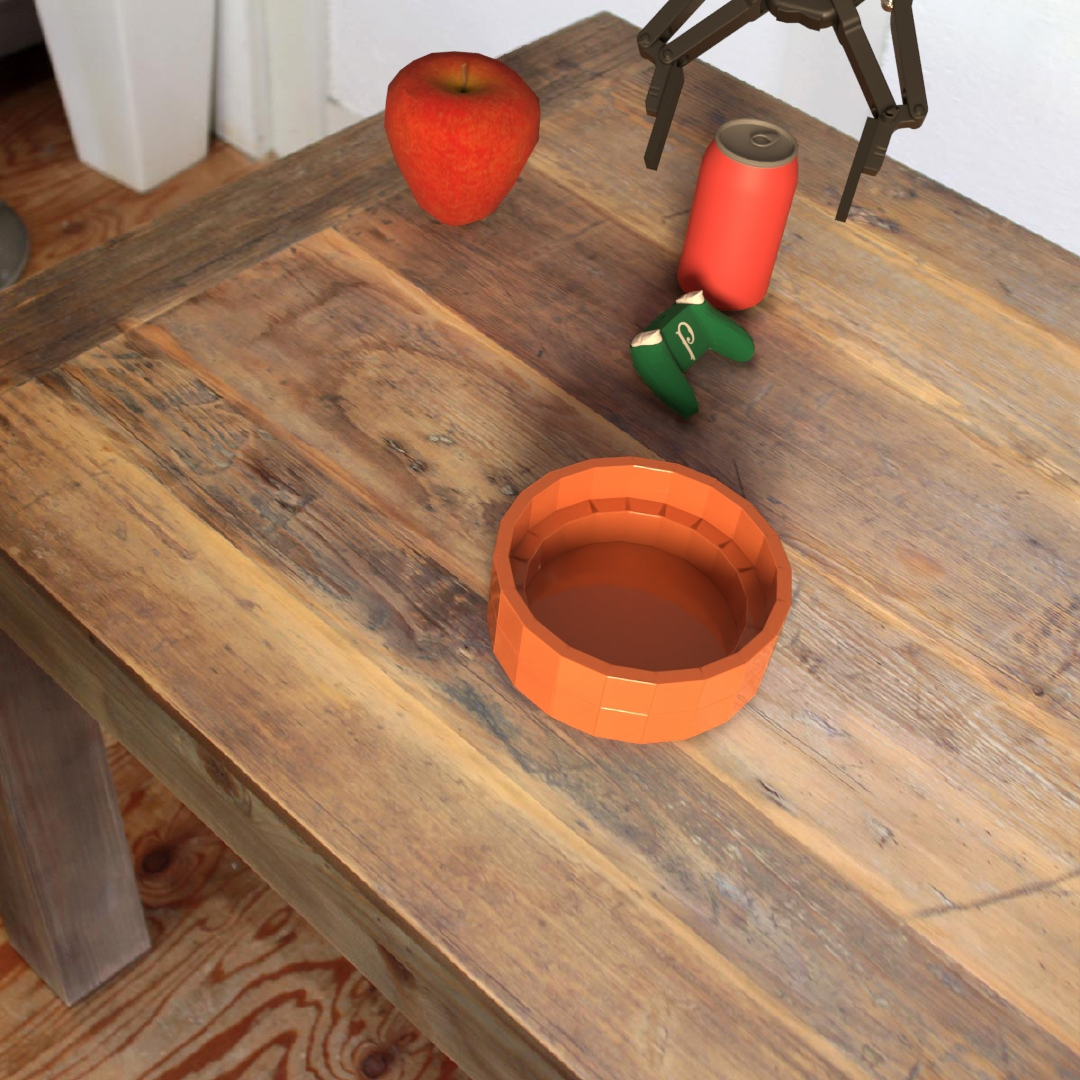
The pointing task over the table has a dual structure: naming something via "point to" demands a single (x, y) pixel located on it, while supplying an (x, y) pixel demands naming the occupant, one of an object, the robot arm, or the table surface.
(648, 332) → the gaming controller
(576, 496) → the bowl
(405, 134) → the apple
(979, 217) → the table surface
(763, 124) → the beer can
